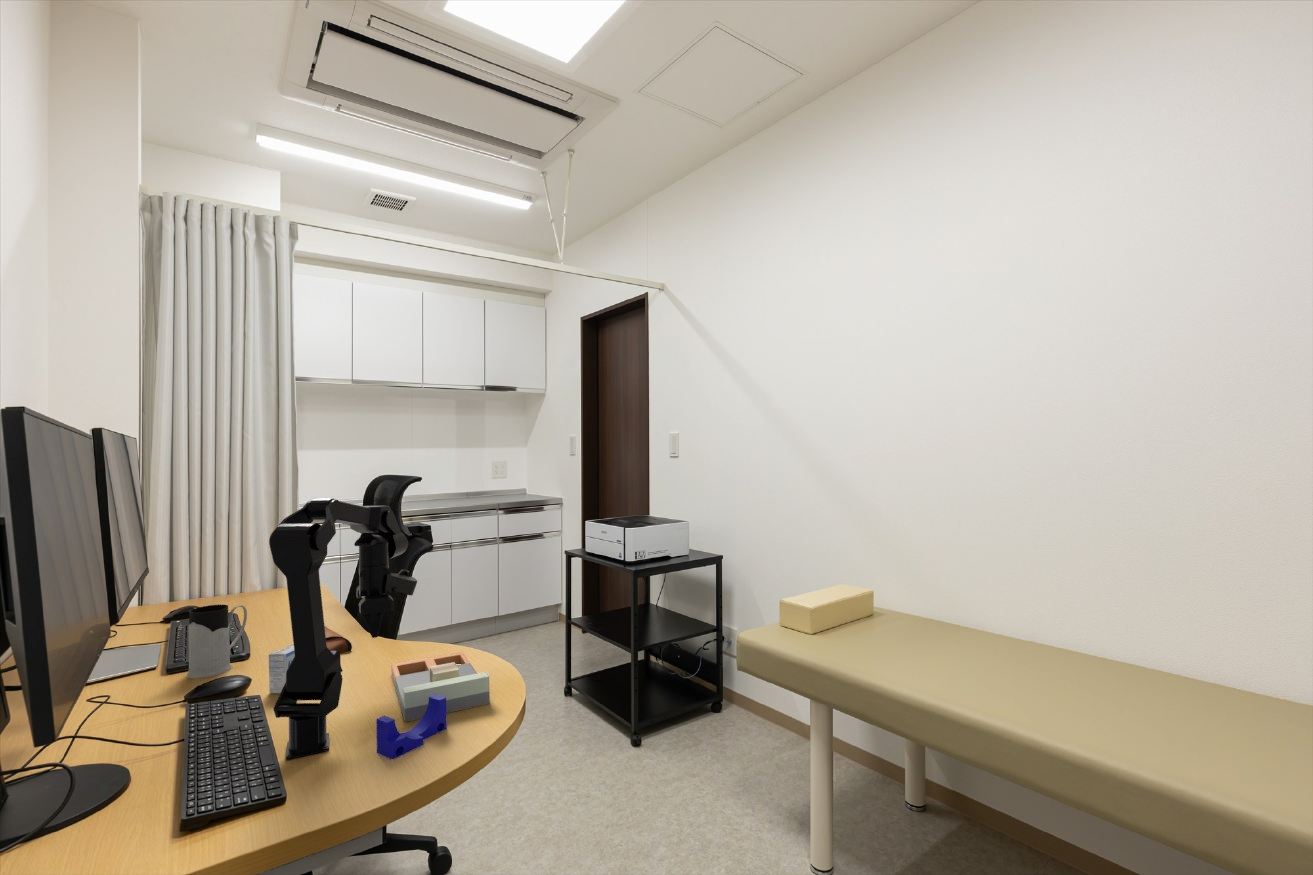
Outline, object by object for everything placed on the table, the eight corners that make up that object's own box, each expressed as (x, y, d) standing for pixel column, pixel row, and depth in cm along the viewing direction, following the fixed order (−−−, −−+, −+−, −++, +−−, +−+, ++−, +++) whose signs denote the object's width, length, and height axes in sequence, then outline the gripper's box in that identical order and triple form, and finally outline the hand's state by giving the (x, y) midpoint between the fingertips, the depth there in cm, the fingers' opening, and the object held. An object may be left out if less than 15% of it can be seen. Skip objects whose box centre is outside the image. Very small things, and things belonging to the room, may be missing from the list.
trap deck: (489, 703, 123) (489, 676, 123) (405, 721, 115) (404, 693, 115) (462, 661, 147) (462, 639, 148) (391, 674, 140) (391, 650, 140)
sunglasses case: (294, 643, 164) (308, 619, 166) (319, 651, 168) (332, 628, 171) (317, 659, 151) (331, 633, 154) (343, 667, 156) (356, 641, 158)
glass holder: (176, 676, 141) (176, 612, 142) (232, 656, 155) (232, 597, 155) (206, 679, 139) (206, 614, 139) (260, 658, 153) (259, 599, 153)
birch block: (459, 688, 124) (458, 669, 124) (433, 694, 122) (433, 674, 122) (454, 680, 129) (454, 662, 129) (429, 685, 126) (429, 666, 126)
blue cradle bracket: (392, 760, 101) (392, 724, 101) (376, 753, 104) (376, 718, 104) (451, 731, 111) (451, 699, 111) (436, 726, 114) (435, 694, 114)
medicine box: (286, 695, 129) (285, 654, 130) (268, 693, 130) (268, 653, 130) (313, 680, 137) (313, 642, 137) (297, 679, 138) (296, 641, 138)
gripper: (419, 567, 125) (420, 642, 125) (409, 553, 142) (410, 620, 141) (360, 573, 120) (361, 652, 120) (356, 559, 136) (356, 628, 136)
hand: (374, 637), depth 129 cm, fingers closed
